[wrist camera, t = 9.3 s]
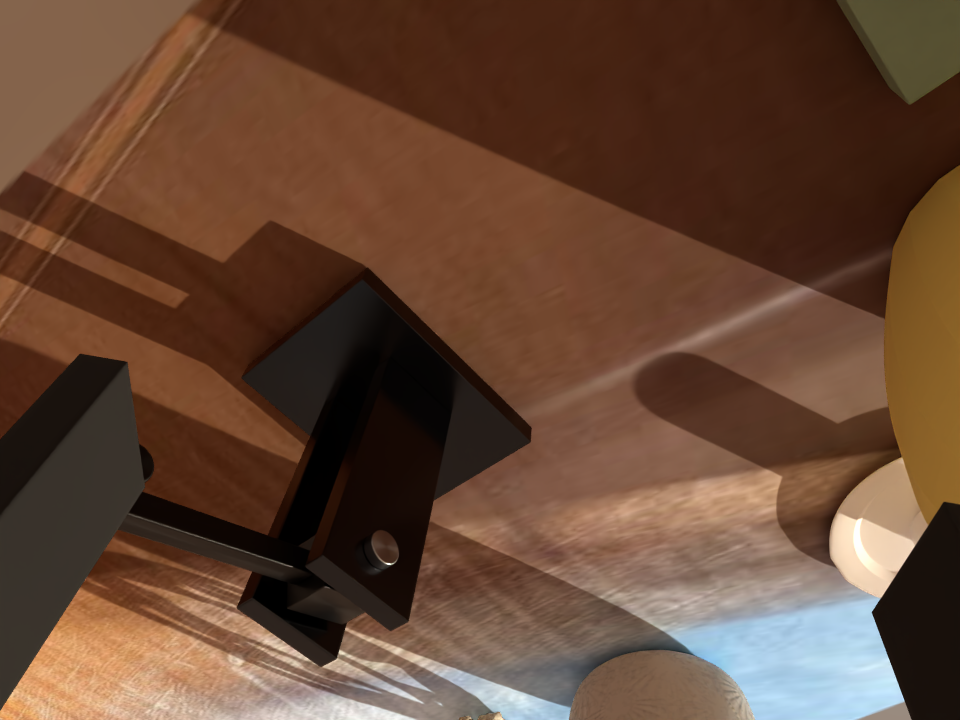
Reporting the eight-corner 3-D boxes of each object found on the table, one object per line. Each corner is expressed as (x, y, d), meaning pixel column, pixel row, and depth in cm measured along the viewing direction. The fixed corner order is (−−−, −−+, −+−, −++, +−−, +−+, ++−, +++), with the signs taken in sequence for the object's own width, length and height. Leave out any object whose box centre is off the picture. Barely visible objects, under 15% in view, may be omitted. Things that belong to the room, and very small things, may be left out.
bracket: (248, 364, 41) (123, 573, 30) (367, 266, 37) (276, 464, 26) (410, 502, 46) (355, 730, 34) (532, 427, 42) (515, 656, 30)
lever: (35, 491, 27) (18, 557, 25) (117, 420, 25) (103, 486, 23) (319, 583, 34) (319, 637, 33) (400, 534, 32) (405, 590, 31)
